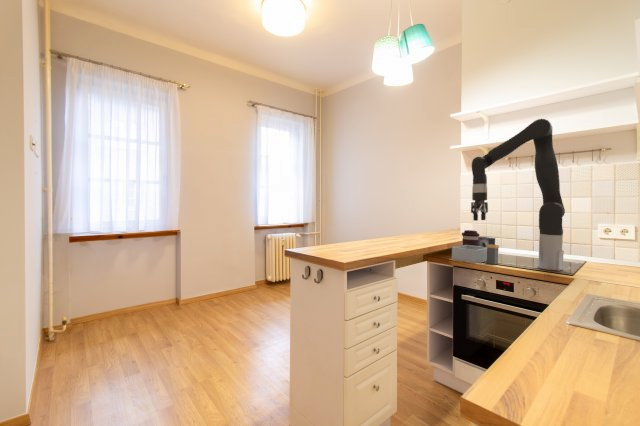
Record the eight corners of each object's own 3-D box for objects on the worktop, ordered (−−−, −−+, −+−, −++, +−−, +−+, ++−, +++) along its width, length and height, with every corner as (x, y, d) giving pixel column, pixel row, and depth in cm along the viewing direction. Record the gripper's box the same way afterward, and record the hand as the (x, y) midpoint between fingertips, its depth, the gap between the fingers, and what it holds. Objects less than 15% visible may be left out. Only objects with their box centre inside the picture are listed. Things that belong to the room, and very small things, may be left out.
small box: (473, 252, 196) (473, 236, 196) (480, 251, 199) (480, 236, 199) (488, 255, 187) (488, 238, 186) (495, 254, 190) (495, 238, 189)
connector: (498, 263, 161) (499, 245, 160) (494, 264, 158) (495, 245, 158) (489, 262, 164) (490, 244, 164) (485, 263, 162) (486, 244, 161)
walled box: (490, 260, 171) (490, 247, 170) (476, 263, 161) (476, 250, 161) (466, 256, 182) (466, 244, 182) (451, 259, 173) (452, 247, 172)
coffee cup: (458, 254, 189) (458, 230, 189) (465, 252, 195) (466, 229, 195) (474, 256, 181) (474, 231, 181) (481, 254, 187) (482, 231, 187)
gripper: (479, 191, 165) (479, 221, 165) (492, 192, 173) (492, 220, 173) (466, 192, 171) (466, 220, 171) (479, 192, 179) (479, 219, 179)
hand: (479, 220), depth 172 cm, fingers open, 8 cm apart
